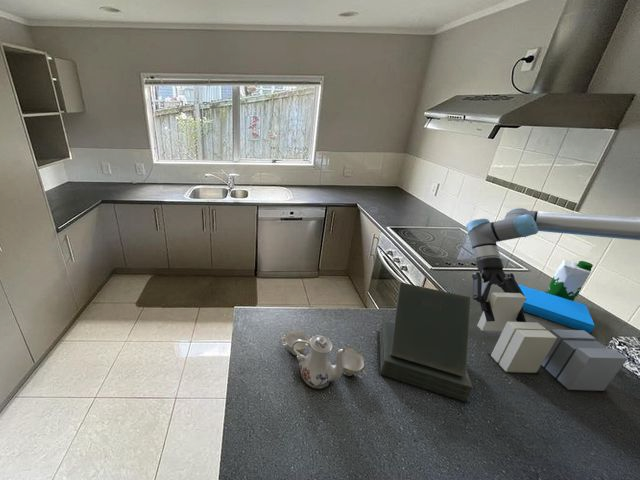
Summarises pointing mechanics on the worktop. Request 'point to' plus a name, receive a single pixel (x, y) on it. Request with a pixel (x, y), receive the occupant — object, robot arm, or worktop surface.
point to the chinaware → (322, 359)
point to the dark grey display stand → (428, 341)
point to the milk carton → (569, 279)
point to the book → (557, 309)
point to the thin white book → (502, 310)
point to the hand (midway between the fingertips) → (506, 321)
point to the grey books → (582, 361)
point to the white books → (523, 347)
